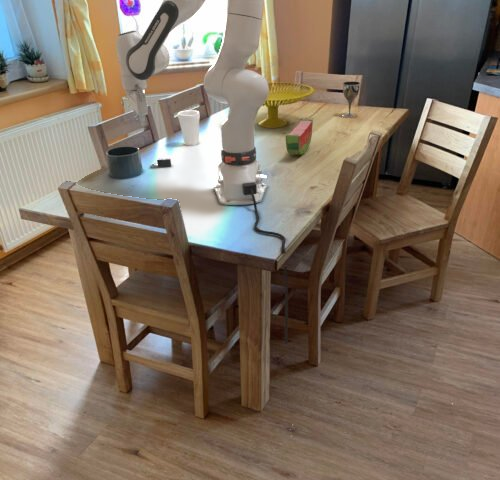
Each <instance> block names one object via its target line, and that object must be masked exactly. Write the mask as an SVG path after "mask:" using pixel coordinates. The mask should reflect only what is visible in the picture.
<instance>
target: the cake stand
mask: <svg viewBox="0 0 500 480" xmlns="http://www.w3.org/2000/svg"><path fill="white" fill-rule="evenodd" d="M268 86H269V87H270V89H269V93H268V97H267V100H266V102H265V103H264V104H263V105H262V107H266V109H267V117H266V118H265V119H263V120H261V121H260V122H258V125H259V127H262V128H271V129H273V128H281V127H284V126H287V125H288V122H287V120H284V119H282V118H281V117H279V107H281V106H286V105H291V104H295V103H298V102H300V101H302V100H303V99H306V98H307V97H309V96H311V95H313V94H314V93H315V88H314V87H313V86H311V85H307V84H304V83H303V84H302V83H296V82H285V81H284V82H276V81H275V82H268Z"/></svg>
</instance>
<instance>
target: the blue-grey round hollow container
mask: <svg viewBox="0 0 500 480" xmlns="http://www.w3.org/2000/svg"><path fill="white" fill-rule="evenodd" d="M105 158H106V162H107V167H108V174H109V176H110V177H111V178H113V179H120V180H124V179H132V178H135V177H138V176H140V175H142V174H143V172H144V169H143V164H142V157H141V151H140V148H139V147H137V146H132V145H125V146H122V145H121V146H116V147H112V148H110V149H108V150H106V151H105Z"/></svg>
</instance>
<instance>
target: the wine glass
mask: <svg viewBox="0 0 500 480" xmlns="http://www.w3.org/2000/svg"><path fill="white" fill-rule="evenodd" d="M360 85H361V83H360V82H359V81H345V82H343V83H342V93H343V97H344V99H345V100H346V102H347V103H348V112H347V113H344V114H342V115H341V116H342V117H343V118H355V117H357V115H356V113H355V114H354V113H351V108H352V104H353V102H354V101H355V99H356V98H357V97H358V95H359V92H360V88H361V87H360Z"/></svg>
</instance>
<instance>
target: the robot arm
mask: <svg viewBox="0 0 500 480" xmlns="http://www.w3.org/2000/svg"><path fill="white" fill-rule="evenodd" d="M205 2H206V0H163V1H162V2H161V4H160V6H159V9H158V10H157V11H156V13H155V15H154V16H153V18H152V19H151V21H150V23H149V25H148V26H147V29H146V30H145V31H144V34H143V35H142V34H141V33H140V32H139V31H137V30H130V31H129V30H128V31H125V32H122V33H119V34H118V35H117V37H116V40H115V41H116V42H115V43H116V44H115V45H116V54H117V61H118V63H119V66H120V78H121V85H122V89H123V90H125V94H126V97H127V98H126V99H127V101H128V104H129V106H130V107H131V108H132V110H133V115H134V118H135V121H139V125H140V126H141V127H146V116H148V115H149V109H148V101H147V96H146V93H145V89H147V88H148V82H147V80H149V78H151V77H152V76H154V75H155V76H156V75H157V74H159V73H161V72H163V71H164V70H166V69H167V68H168V66H169V64H170V54H169V50H168V49H167V47H166V45H164V44H165V42H166V40H167V39H168V37H169V35H170V34H171V33H172V32H173V31H174V30H175V29H176V28H177V27H179V26H180V25H182V24H183V23H185V22H188V21H189V20H191V19H193V18H194V17H195V16H196V14H197V13H198V12H199V11H200V10H201V8H202V7H203V5H204V4H205ZM264 2H265V0H227V6H226V15H225V22H224V30H223V35H222V42H221V46H220V49H219V51H218V54H217V57H216V59H215V61H214V63H213V65H212V66H211V67H210V68H209V69H208V70H207V71H206V72H205V74H204V78H203V89H204V91H205V94H206V95H207V96H208V97H210V98H211V99H212V100H214V101H216V102H217V103H221V104H226V105H228V115H227V118H226V119H225V120H224V121H223V122H222V123H221V126H220V135H221V150H220V157H221V162H220V163H219V165H218V167H217V168H218V180H217V182H218V184H217V185H214V187H213V190H214V192H215V195H216V197H217V199H218V202H219V204H221V205H224V206H225V205H226V206H245V205H246V206H247V205H253V209H254V212H255V216H256V220H255V222H254V225H253V228H254V230H255V231H256V232H258V233H261V234H266V235H272V236H277V237H279V238H281V239H282V242H281V252H282V254H286V241H287V239H286V237H285V236H284V235H283V234H282V233H278V232H275V231H268V230H263V229H260V228H259V227H257V226H258V224H259V222H260V214H259V210H258V206H257V204H258V203H261V202H262V200H263V197H264V195H265V193H266V190H267V183H265V182H263V178H264V179H267V175H265V174H262V169H261V163H260V162H259V161H258V160H257V149H256V146H255V124H256V119H257V114H258V112H259V110H260V108H261V107H263V104H264V103H265V102H266V100H267V97H268V93H269V90H270V85H269V86H268V83H269V82H268V81H267V79H266V78H265V76H263V74H260V73H259V72H256V71H254V70H251V69H246V66H247V64H248V61H249V60H250V58H251V56H253V55H254V54H255V53H256V52H257V51H258V48H259V45H260V37H261V32H262V31H261V30H262V23H263V16H264V4H265V3H264ZM283 271H284V272H283V273H284V300H285V301H284V306H285V307H284V311H285V312H284V344H286V345H287V344H289V343H288V339H289V338H288V333H289V331H288V330H289V282H288V266H284V267H283Z"/></svg>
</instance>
